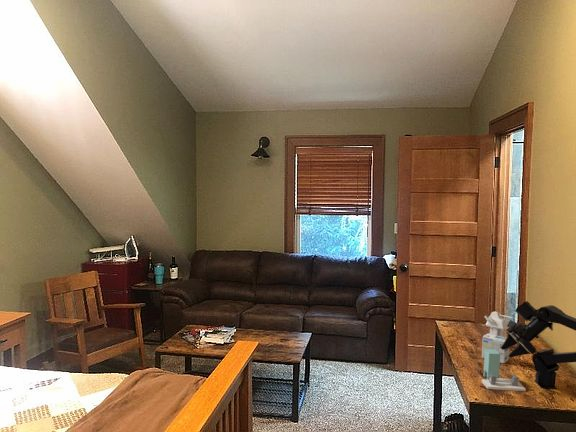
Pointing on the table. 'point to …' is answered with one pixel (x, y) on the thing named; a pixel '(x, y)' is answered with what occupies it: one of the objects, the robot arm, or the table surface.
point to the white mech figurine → (497, 323)
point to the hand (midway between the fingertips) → (505, 352)
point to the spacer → (491, 363)
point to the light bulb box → (495, 346)
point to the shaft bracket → (503, 383)
